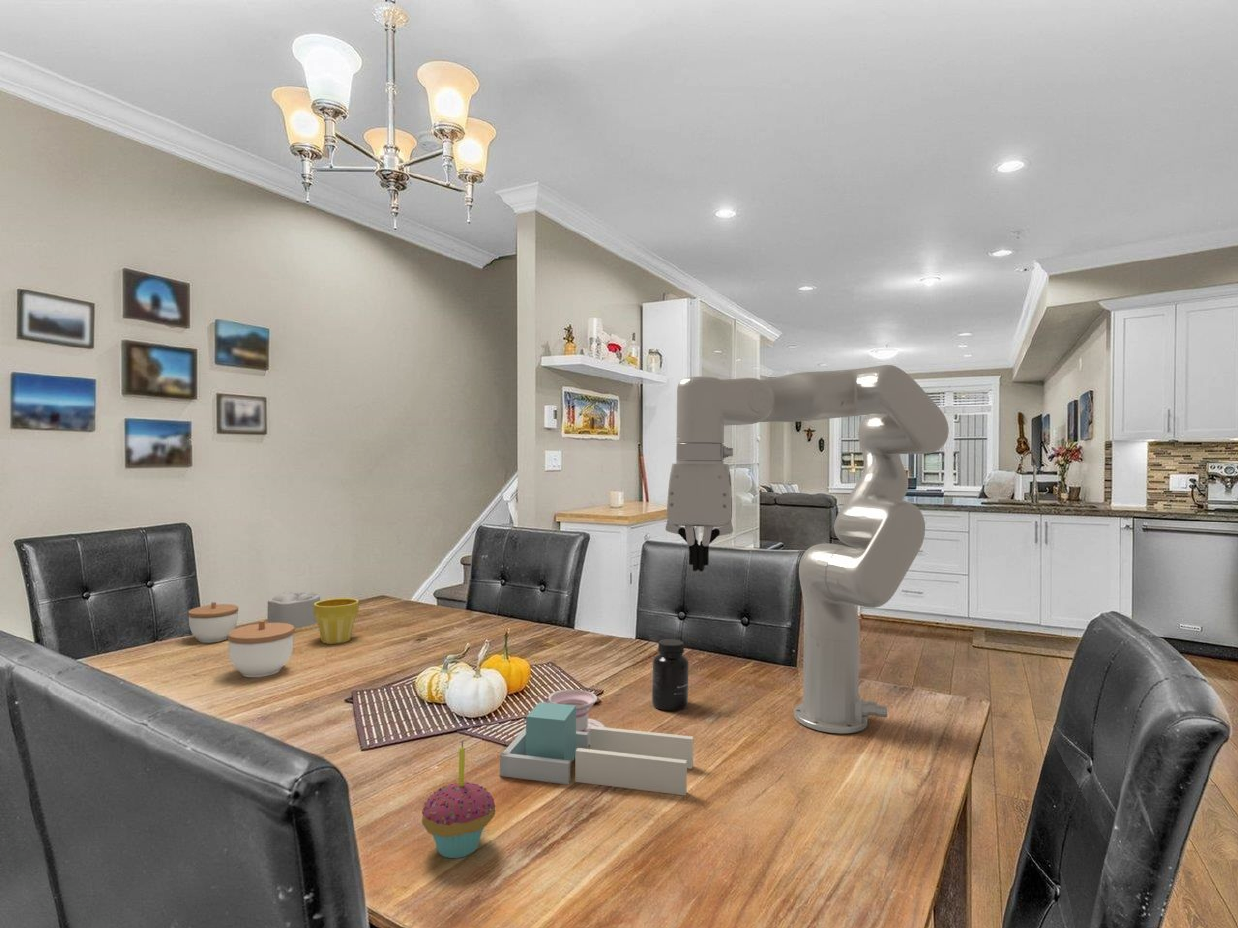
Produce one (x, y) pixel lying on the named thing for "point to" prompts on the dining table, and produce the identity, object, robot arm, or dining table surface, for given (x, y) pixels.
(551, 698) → the teacup
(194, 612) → the lidded jar
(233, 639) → the lidded bowl
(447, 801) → the cupcake
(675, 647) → the supplement bottle
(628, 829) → the dining table surface
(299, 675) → the dining table surface
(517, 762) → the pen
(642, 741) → the channel
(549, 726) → the block
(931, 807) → the dining table surface
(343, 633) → the plant pot
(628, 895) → the dining table surface
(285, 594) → the grey lumpy-topped box
